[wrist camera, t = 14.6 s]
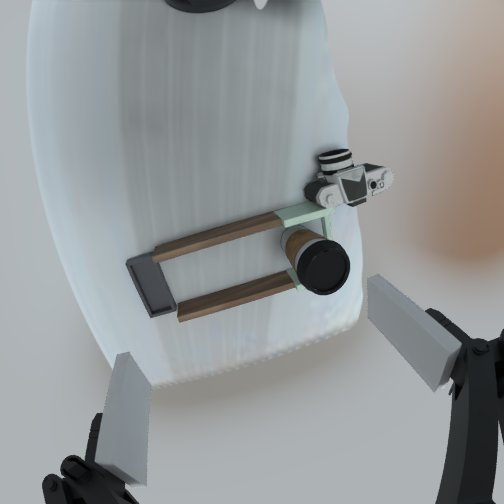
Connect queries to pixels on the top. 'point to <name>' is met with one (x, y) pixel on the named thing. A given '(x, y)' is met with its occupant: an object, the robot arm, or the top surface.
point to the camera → (346, 180)
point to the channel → (233, 294)
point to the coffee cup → (316, 260)
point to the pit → (151, 285)
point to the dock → (305, 214)
